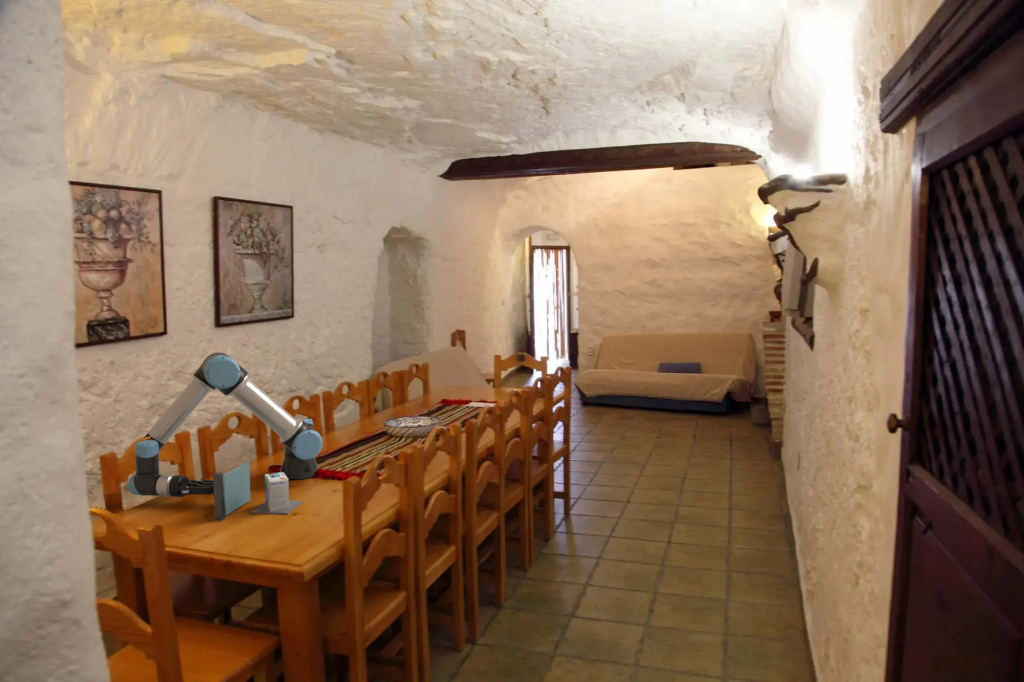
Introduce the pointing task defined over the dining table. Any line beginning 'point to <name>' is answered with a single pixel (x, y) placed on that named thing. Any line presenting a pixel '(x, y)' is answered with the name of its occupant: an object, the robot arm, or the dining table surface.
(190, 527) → the dining table surface
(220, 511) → the gate post
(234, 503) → the gate
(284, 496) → the light bulb box
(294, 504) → the rubber mat
